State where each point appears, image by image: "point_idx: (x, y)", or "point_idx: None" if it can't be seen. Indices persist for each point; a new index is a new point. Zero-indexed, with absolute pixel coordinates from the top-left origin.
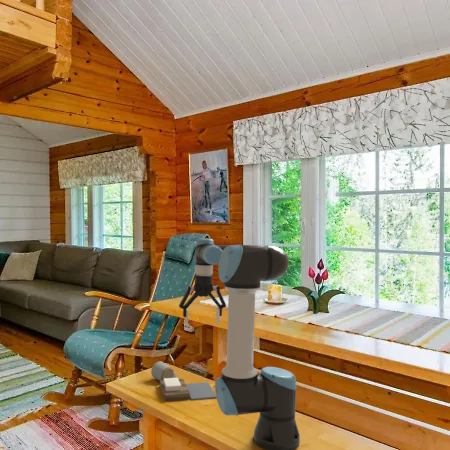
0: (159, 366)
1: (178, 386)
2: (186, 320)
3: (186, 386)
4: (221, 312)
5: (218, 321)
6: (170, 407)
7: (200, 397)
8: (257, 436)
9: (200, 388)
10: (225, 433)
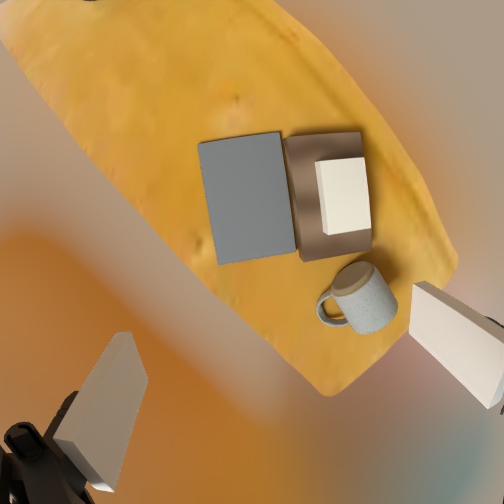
0: (385, 295)
1: (327, 160)
2: (449, 295)
3: (296, 193)
4: (58, 417)
5: (114, 346)
6: (336, 94)
7: (250, 138)
8: None
9: (246, 211)
10: None
